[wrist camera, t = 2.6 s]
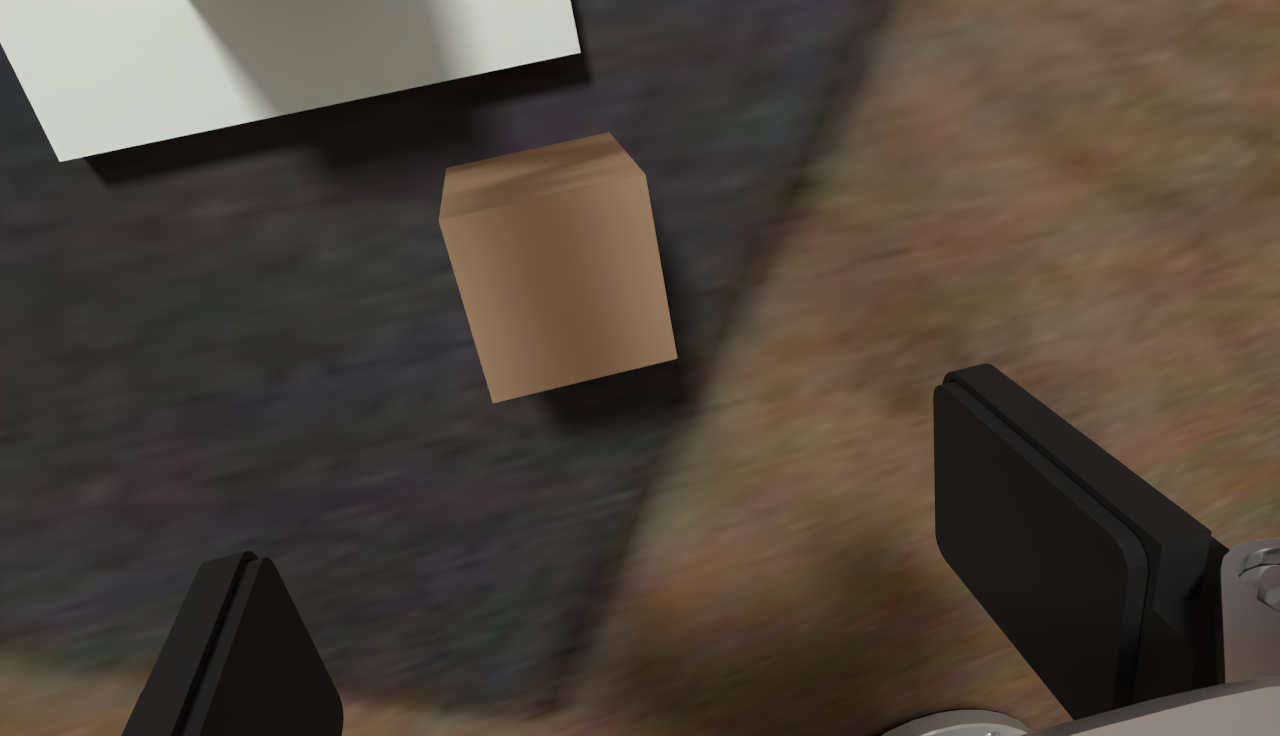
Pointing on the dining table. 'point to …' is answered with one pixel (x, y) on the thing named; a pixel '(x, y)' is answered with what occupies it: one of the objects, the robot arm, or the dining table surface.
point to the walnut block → (557, 265)
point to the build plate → (251, 58)
